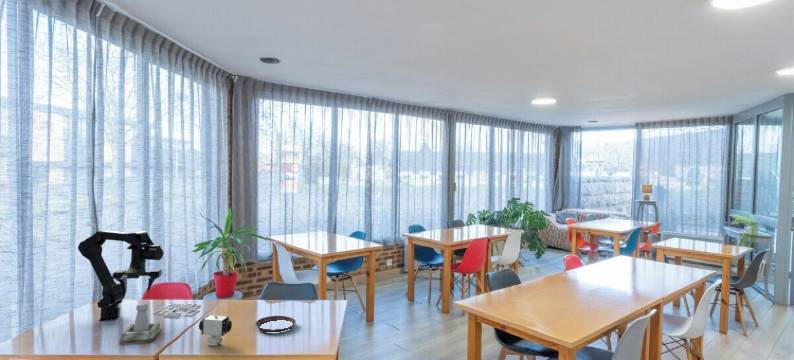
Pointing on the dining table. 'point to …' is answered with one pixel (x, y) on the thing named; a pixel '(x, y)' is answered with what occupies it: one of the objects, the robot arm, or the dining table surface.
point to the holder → (140, 334)
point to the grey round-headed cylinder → (141, 318)
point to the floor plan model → (182, 307)
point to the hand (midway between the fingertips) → (136, 292)
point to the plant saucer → (274, 318)
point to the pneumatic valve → (215, 328)
